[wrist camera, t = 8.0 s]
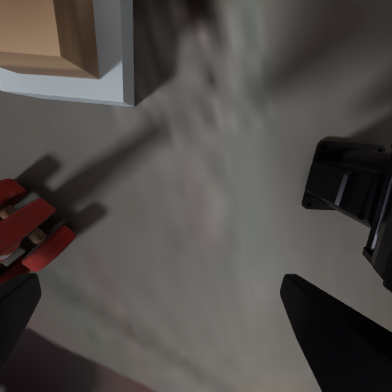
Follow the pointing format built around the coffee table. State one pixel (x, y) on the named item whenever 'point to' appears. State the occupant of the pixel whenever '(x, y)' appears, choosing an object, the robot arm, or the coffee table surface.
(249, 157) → the coffee table surface
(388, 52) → the coffee table surface
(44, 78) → the base block
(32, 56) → the walnut cube
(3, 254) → the toy fire truck
